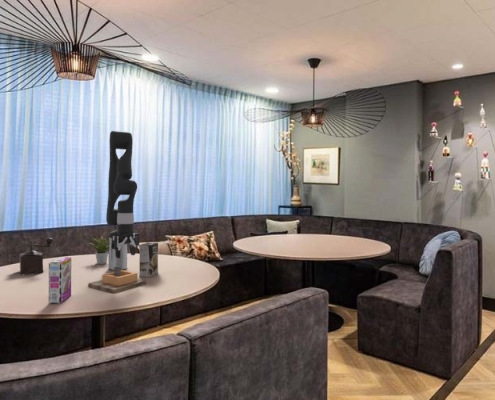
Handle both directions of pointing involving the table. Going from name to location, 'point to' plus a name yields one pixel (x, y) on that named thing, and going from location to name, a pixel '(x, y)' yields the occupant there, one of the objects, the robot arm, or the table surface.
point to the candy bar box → (59, 280)
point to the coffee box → (148, 259)
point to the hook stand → (115, 288)
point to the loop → (120, 278)
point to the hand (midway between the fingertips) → (125, 256)
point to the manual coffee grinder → (33, 259)
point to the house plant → (101, 251)
